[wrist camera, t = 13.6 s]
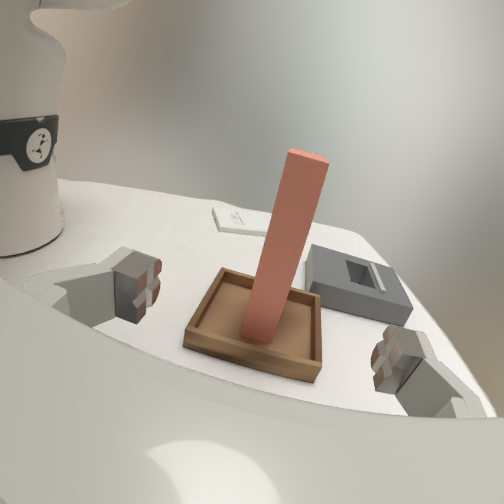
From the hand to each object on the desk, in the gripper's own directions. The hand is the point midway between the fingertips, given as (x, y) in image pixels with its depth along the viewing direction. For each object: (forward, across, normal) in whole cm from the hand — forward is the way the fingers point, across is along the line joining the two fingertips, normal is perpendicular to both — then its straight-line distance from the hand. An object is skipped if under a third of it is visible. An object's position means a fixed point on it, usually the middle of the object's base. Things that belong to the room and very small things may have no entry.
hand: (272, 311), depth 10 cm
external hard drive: (+36, +5, +11) cm, 38 cm away
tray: (+12, 0, +10) cm, 16 cm away
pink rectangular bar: (+12, 0, +10) cm, 15 cm away
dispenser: (+23, -10, +10) cm, 27 cm away
